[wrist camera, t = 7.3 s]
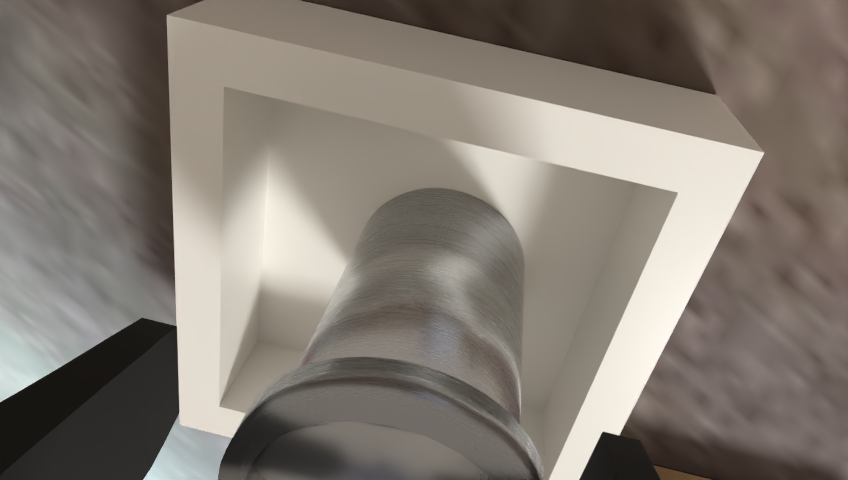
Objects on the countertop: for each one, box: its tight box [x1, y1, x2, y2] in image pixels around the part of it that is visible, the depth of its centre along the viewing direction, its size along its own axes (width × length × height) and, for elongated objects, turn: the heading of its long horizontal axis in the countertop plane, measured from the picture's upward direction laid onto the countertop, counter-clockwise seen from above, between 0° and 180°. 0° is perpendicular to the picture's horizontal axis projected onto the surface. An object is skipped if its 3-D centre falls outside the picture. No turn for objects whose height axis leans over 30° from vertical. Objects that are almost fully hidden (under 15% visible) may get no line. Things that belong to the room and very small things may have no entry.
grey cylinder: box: [218, 188, 545, 480], centre depth 12 cm, size 5×5×7 cm
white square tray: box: [167, 0, 764, 480], centre depth 14 cm, size 10×10×3 cm
